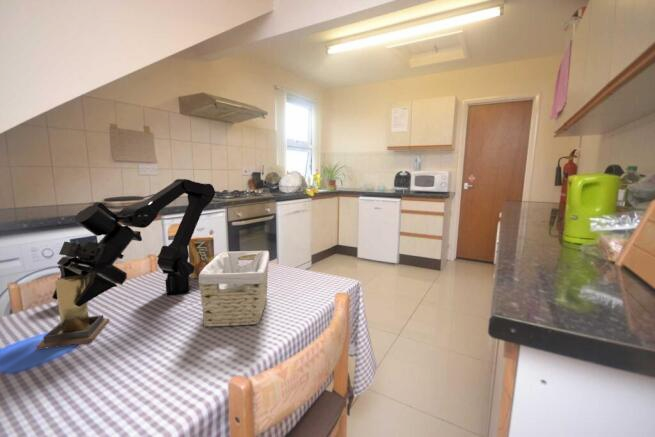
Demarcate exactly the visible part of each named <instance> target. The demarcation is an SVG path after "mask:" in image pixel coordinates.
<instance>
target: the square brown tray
mask: <svg viewBox="0 0 655 437" xmlns="http://www.w3.org/2000/svg"><path fill="white" fill-rule="evenodd" d="M89 323H90V327H89V328H88V329H87V330H85V331H77V332H69V333H62V328H61V321H60V322H59V323H57V325H56V326H55V327H53V328H52V329H51V330H50V331H49V332H47V333H46V334H45V335H44V336H42V338H43V340H42V341H41V342H39V343H38V344H37V345H36V350H37V349H38V350H42V349H41V348H45V349H50V348H49V347H52V348H57V347H56V346H59V347H64V346H63V345H66V346H72V345H71V344H74V345H79V344H86V343H92V342H94V340H96V338H97V337H98V336H99V334H100V333H101V332H102V331H103V330H104V328H105V327H106V326H107V324H109V323H110V318H104V315H103V314H102V315H94V316H93V315H92V316H89ZM46 347H48V348H46Z"/></svg>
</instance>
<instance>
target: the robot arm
mask: <svg viewBox="0 0 655 437" xmlns="http://www.w3.org/2000/svg"><path fill="white" fill-rule="evenodd" d="M184 194H185V195H187V203H188V205H187V207H186V209H185V211H184V214H183V217H182V218H181V221H180V223H179V226H178V227H177V230H176V233H175V235H174V237H173V239H172V241H171V243H169V244H168V245H162V247H161V248H160V252H159V254H158V255H157V256H156V258H157V262H156V263H157V265H158V267H159V269H160V270H161V272H162V273H163V274H165V275H166V278H165V282H164V283H165V291H166V296H172V295H173V296H175V295H184V294H189V293H190V291H191V289H192V285H191V280H190V279H191V278H190V274H192V273H193V272H194V268H195V267H194V266H193V265H192V264H190V263H189V242H190V240H191V237H193V235H194V233H195V230H196V228H197V225H198V223H199V220H200V218H201V216H202V213H203V211H204V210H205V208H206V207H207V206H208V205H210V204H211V203H212V201H213V199H214V198H215V195H216V190H215V187H214V186H213V185H212V184H211V183H201V182H197V181H193V180H191V179H188V178H177V179H175V180H174V181H173V182H171V183H170V184H169V185H167V186H166V187H164V188H163V189H161V190H159V191H158V192H157V193H155V194H153V195H151V196H150V197H149V198H147V199H145V200H142V201H139V202H135V203H132V204H130V205H128V206H125V207H123V208H122V209H121V210H120V211H117V212H113V211H112V210H110V208H108V207H107V205H105V204H104V203H103V202H102V201H101V202H100V201H95V202H94V203H93V204H92V205H89V206H87V207H86V208H84V209H83V210H80V211H79V212H77V214H76V215H75V217H74V222H75V223H76V224H78V225H79V226H81V227H82V228H84V229H86V230H87V231H88V232H89V233H91V234H93V235H94V236H96V237H99V236H103V237H102V238H101V239H100V240H99V242H95V241H94V242H93V241H86V240H83V242H82V243H76V242H69V241H64V242H63V244H62V246H61V248H60V251H59V253H58V254H59V255H62V257H61V258H60V259H59V260H58V261H57V262H56V264H57V265H58V266H57V268H58V269H59V272H60V277H59V278H60V279H61V278H65V277H70V276H81V275H83V276H86V275H88V274H89V279H90V281H89V283H88V285H87V286H86V288H85V289H84V291H83V292H82V294H81V295H80V297H79V298H78V300H77V301H76V303H75V305H76V306H81V305H83V304H85V303H86V302H87V303H88V302H90V301H91V300H93V299H94V298H96V297H98V296H100V295H101V294H103V293H105V292H107V291H109V290H111V289H113V288H117V286H118V285H123V284H124V283H125V281H126V280H127V279H128V275H127V274H128V273H127V272H126V271H124V270H123V269H121V268H118V267H117V266H115V265H114V264H115V262H116V261H117V260H118V259H119V260H122V259H123V258H124V257H125V255H123V254H122V253H124V251H125V250H126V249H127V248H128V246H129V245H130V243H132V241H137V242H142V241H143V238H142V234H141V231H140V230H139V231H138V230H133V229H132V228H137V229H139V228H141V229H144V228H147V227H149V226H150V225H151V224H152V223H153V222H154V221H155V220H156V219H157V217H158V215H159V213H160V212H161V211H162V210H163V209H165V207H167V206H169V205H170V204H172V203H173V202H175V201H176V200H177V199H178V198H180V197H181V196H182V195H184ZM131 227H132V228H131ZM84 279H85V277H84ZM51 297H52V299H54V300H58V298H57V290H56V288H55V289H54V292H53V294H52V296H51Z"/></svg>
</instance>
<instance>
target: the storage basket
mask: <svg viewBox="0 0 655 437" xmlns="http://www.w3.org/2000/svg"><path fill="white" fill-rule="evenodd" d="M239 261H252V262H249V263H247V264H243V265H239ZM269 263H270V251H268V250H242V251H241V250H239V251H223V252H220V253H218V255H216V256H214V259H213V260H212V261H211V262H210V263H209V264H208V265H206V266H205V267H204V268H203V269H202V271H201V272H200V274H199V278H198V285H199V288H198V289H199V292H200V298H201V307H202V311H201V312H202V317H203V319H202V320H203V323H202V324H203V325H204V326H205V327H229V326H233V327H237V326H249V325H257V324H259V323H260V320H261V317H262V314H263V311H264V309H265V305H266V300H267V295H268V276H269V274H268V273H269V272H268V271H269Z"/></svg>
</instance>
